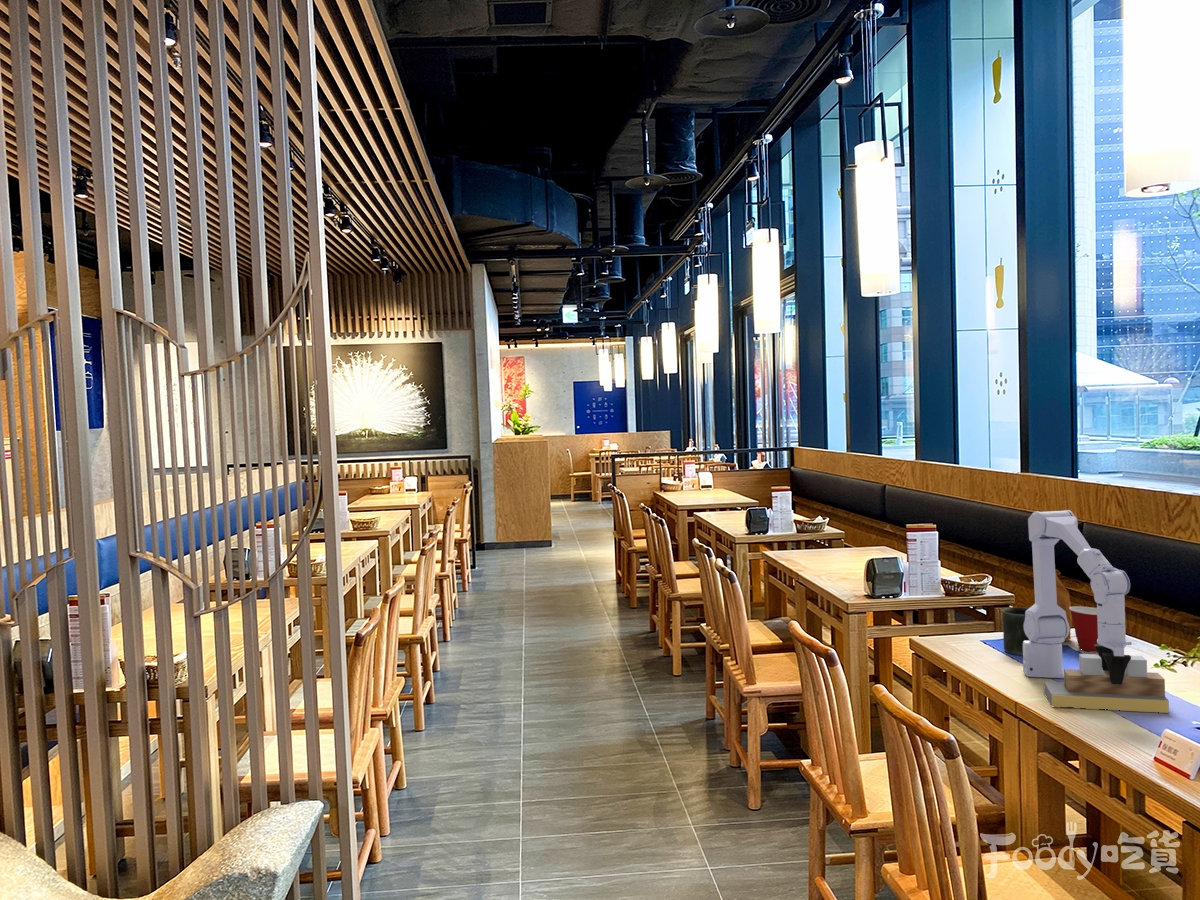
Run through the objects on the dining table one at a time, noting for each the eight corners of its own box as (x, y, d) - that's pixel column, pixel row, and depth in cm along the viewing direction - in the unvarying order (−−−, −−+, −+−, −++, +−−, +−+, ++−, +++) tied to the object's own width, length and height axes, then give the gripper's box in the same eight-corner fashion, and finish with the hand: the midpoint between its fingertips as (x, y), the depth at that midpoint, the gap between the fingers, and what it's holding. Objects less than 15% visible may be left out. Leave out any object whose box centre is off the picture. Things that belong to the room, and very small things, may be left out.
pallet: (1068, 692, 214) (1068, 675, 214) (1064, 685, 219) (1063, 669, 219) (1165, 696, 208) (1164, 679, 208) (1158, 689, 213) (1157, 672, 213)
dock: (1052, 707, 212) (1051, 694, 212) (1044, 693, 223) (1044, 681, 223) (1169, 713, 205) (1168, 700, 205) (1155, 698, 216) (1154, 686, 216)
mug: (1005, 656, 260) (1004, 614, 260) (997, 644, 274) (996, 604, 274) (1047, 657, 257) (1045, 615, 257) (1036, 645, 271) (1035, 605, 271)
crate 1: (1083, 674, 214) (1082, 658, 214) (1079, 670, 217) (1079, 653, 217) (1102, 675, 212) (1101, 658, 212) (1098, 671, 216) (1097, 654, 216)
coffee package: (1066, 633, 283) (1064, 563, 283) (1074, 643, 272) (1072, 570, 271) (1031, 632, 287) (1029, 563, 286) (1037, 641, 275) (1035, 569, 274)
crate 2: (1127, 676, 211) (1127, 659, 211) (1123, 672, 215) (1122, 655, 215) (1147, 677, 210) (1146, 660, 210) (1142, 672, 214) (1142, 655, 213)
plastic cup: (1120, 653, 258) (1119, 611, 258) (1082, 654, 258) (1080, 612, 258) (1099, 644, 269) (1098, 604, 268) (1063, 645, 269) (1062, 605, 269)
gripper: (1138, 629, 205) (1140, 688, 205) (1122, 616, 219) (1124, 672, 219) (1103, 628, 207) (1105, 687, 208) (1090, 615, 221) (1091, 670, 221)
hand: (1112, 679), depth 214 cm, fingers open, 7 cm apart
